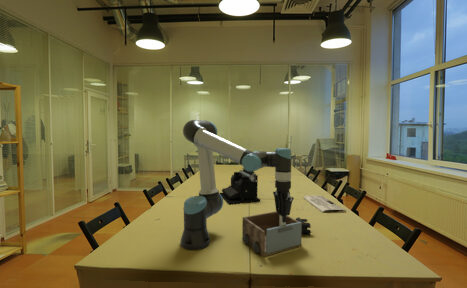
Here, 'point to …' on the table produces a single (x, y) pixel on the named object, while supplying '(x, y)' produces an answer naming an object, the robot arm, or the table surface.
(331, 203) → the newspaper
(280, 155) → the robot arm
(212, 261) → the table surface
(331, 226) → the table surface
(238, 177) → the typewriter
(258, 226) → the box
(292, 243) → the panel
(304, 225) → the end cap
